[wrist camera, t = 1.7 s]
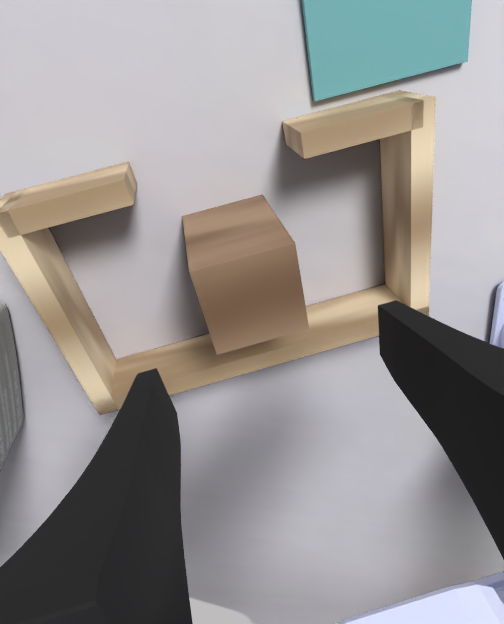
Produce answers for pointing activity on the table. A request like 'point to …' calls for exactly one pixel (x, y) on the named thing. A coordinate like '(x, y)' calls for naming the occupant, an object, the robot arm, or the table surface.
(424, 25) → the mat
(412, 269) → the open wooden frame
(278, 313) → the walnut block
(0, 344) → the skincare box
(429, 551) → the table surface
